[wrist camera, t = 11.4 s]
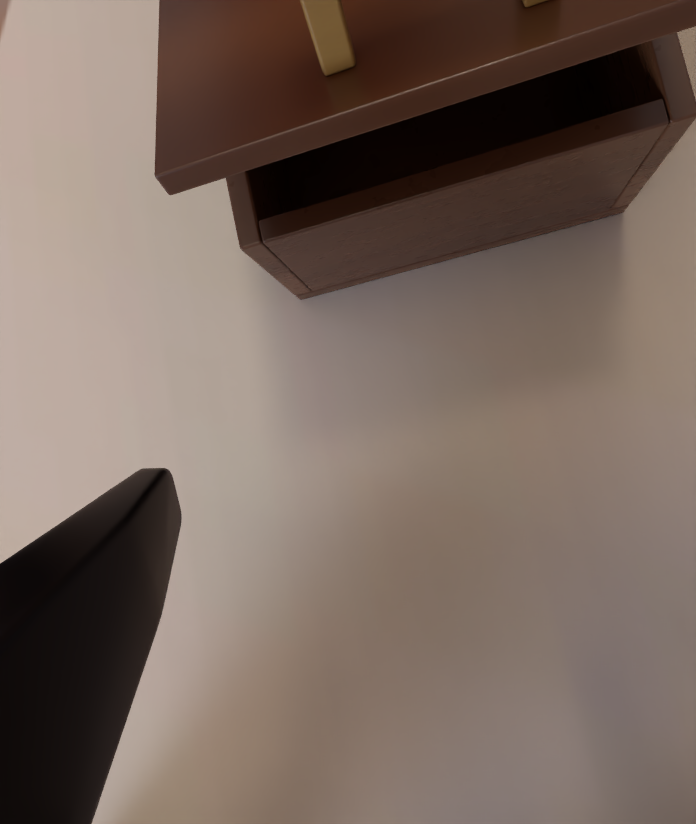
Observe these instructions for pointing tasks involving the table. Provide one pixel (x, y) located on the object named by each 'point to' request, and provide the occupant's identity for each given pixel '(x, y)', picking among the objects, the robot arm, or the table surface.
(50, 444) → the table surface
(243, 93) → the brown wooden lid
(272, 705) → the table surface
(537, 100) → the caddy
